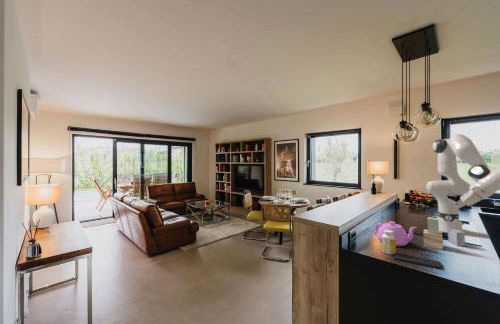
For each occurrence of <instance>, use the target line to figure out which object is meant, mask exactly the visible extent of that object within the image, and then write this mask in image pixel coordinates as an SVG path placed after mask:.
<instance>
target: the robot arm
mask: <svg viewBox="0 0 500 324" xmlns="http://www.w3.org/2000/svg"><path fill="white" fill-rule="evenodd" d="M432 150H433V152H434V153H436V154H437V153H438V154H437V162H436V163H437V173H438V174H439V175H441V176H442V177H445V178H447V180H445V179H444V180H441V179H438V180H437V179H436V180H435V179H434V180H429V181H428V182H427V183H426V185H425V188H426V191H427V192H428V193H429V194H431V195H432V196H434V198H435V199H436V201H437V206H438V207H437V209H438V211H437V218H438V225H439V232H442V233H447V234H448V229H456V230H459V231H461V232H464V233H465V234H467V233H466V231H465V230H464V229H463V222H462V221H461V220H460V214H459V210H460V209H461V208H463V207H465V206H467V207H471V206H473V205H475V204H476V203H479V202H480V201H482V200H486V199H488V198H489V197H491V196H493V195H494V194H496V192H498V191H499V190H500V167H492V166H489V165H488V164H487V163H486V161H485V160H484V158H483V157H482V155H481V154H480V152H479V150H478V148H477V147H476V145H475V143H474V142H473V141H472V139H470V138H469V137H468V136H466V135H464V134H461V133H460V134H455V135H453V136H451V137H450V138H443V139H442V138H440V139H436V140H434V141H433V144H432ZM457 158H459V159H460V160H462V161H463V162H465V163H467V165H468V166H471V167H470V168H469V169H468V170H467V171H468V172H467V174H468V175H467V176H469V178H471V179H472V180H473V181H475V183H474V184H472V185H471V184H470V183H468V182H467V181H466V180H464V179H463V178H462V177H461V176H460V174H459V173H458V172H459V171H458V163H457V161H458V160H457ZM448 195H449V196H460V197H459V198H460V199H459V200H457V201H455V200H453V199H451V198H449V197H448Z"/></svg>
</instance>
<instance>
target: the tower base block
mask: <svg viewBox="0 0 500 324" xmlns="http://www.w3.org/2000/svg"><path fill="white" fill-rule="evenodd" d="M443 241H444V240H443V238H442V242H443ZM423 247H425V248H430V249H436V250H442V251H443V250H444V249H443V247H444V246H443V243H440V242H434V241H428V240H424V239H423Z"/></svg>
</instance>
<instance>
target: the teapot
mask: <svg viewBox="0 0 500 324" xmlns="http://www.w3.org/2000/svg"><path fill="white" fill-rule="evenodd" d="M378 226H380V227H379V229H378ZM374 227H375V231H374V235H375V236H376V237H377V239H378V240H379V242H381V243H382V235H383V234H384V230H391V231H393V236H395V244H396V247H404V246H407V245H408V244H409V242H411V240H413V238H414V230H415V229H416V228H417V226H411V227H410V228H409V230H408V233H407V231H406V230H405V229H404V227H403V226H402V225H401V224H397V223H396V221H393V220H392V221H389V222H385V223H381V222H380V223H379V222H378V223H376V224H375V226H374Z"/></svg>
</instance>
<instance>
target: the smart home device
mask: <svg viewBox="0 0 500 324" xmlns="http://www.w3.org/2000/svg"><path fill="white" fill-rule="evenodd" d="M393 260H395V261H400V262H404V263H408V264H413V265H414V264H415V265H418V266H423V267H427V268H432V269H437V270H443V266H442V263H441V261H439V260H434V259H428V258H424V257H420V256H413V255H409V254H404V253H399V252H396V253H395V254H393Z"/></svg>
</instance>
